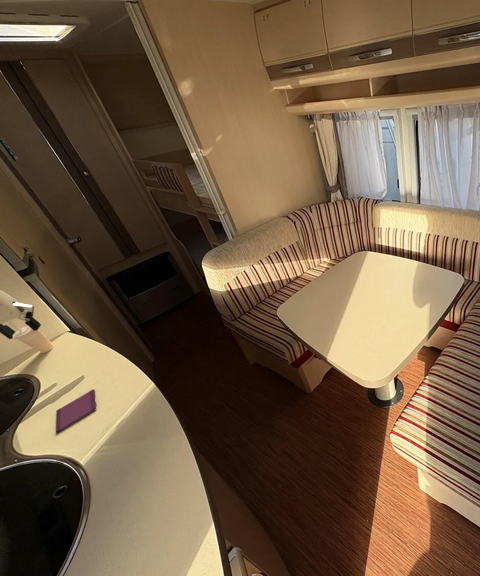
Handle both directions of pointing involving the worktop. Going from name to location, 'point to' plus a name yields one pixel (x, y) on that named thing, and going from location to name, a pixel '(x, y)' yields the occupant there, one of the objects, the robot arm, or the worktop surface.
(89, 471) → the worktop surface
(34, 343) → the smoothie
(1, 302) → the robot arm
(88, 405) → the towel mat
